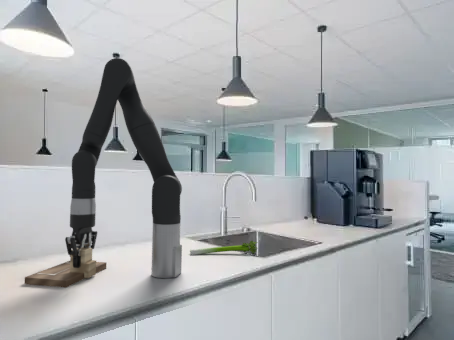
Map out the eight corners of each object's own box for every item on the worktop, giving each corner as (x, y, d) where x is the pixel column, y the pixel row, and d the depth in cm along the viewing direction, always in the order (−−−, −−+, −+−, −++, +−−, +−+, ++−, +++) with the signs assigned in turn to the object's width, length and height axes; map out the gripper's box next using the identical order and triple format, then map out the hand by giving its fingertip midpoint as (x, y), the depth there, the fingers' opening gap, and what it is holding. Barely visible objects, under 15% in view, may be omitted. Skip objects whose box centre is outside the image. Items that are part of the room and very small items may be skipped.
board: (106, 268, 113) (106, 262, 113) (66, 287, 92) (66, 280, 92) (71, 265, 116) (71, 259, 116) (24, 283, 95) (24, 276, 95)
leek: (190, 257, 140) (256, 250, 144) (190, 263, 133) (260, 256, 137) (189, 243, 139) (256, 237, 143) (189, 249, 132) (260, 242, 136)
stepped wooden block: (95, 274, 104) (96, 248, 104) (88, 278, 100) (89, 250, 100) (74, 272, 105) (75, 247, 105) (66, 276, 101) (67, 249, 101)
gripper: (79, 215, 96) (77, 272, 95) (105, 210, 110) (104, 260, 109) (57, 214, 97) (55, 271, 96) (85, 210, 111) (84, 259, 110)
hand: (81, 265), depth 103 cm, fingers closed on stepped wooden block, 4 cm apart
